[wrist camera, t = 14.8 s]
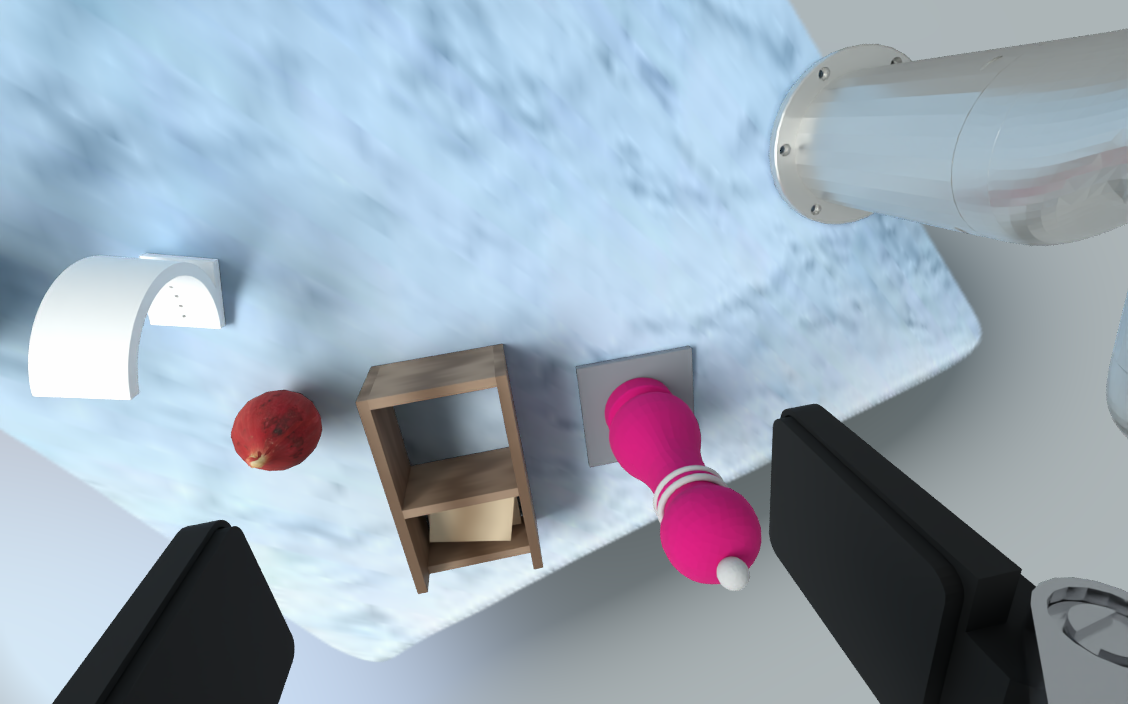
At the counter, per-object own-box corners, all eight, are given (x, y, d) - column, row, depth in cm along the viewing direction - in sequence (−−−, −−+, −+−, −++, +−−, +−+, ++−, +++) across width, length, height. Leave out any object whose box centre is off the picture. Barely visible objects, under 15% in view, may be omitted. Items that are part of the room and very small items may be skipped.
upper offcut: (513, 479, 47) (514, 492, 46) (509, 526, 49) (510, 540, 48) (431, 479, 46) (430, 492, 44) (431, 527, 48) (429, 542, 46)
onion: (284, 359, 42) (244, 408, 34) (347, 402, 44) (321, 458, 36) (239, 409, 43) (190, 468, 35) (302, 449, 45) (269, 512, 37)
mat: (689, 345, 46) (691, 348, 46) (692, 443, 50) (695, 446, 50) (575, 366, 46) (577, 369, 45) (588, 463, 50) (589, 467, 49)
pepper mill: (688, 378, 47) (823, 539, 29) (664, 448, 49) (773, 637, 31) (611, 365, 45) (701, 526, 27) (589, 438, 48) (658, 631, 30)
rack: (502, 343, 44) (506, 374, 38) (536, 520, 51) (543, 567, 46) (370, 366, 43) (355, 402, 37) (424, 543, 50) (418, 594, 45)
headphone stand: (156, 320, 39) (31, 396, 28) (143, 237, 37) (2, 284, 26) (226, 325, 40) (130, 400, 29) (217, 244, 38) (110, 292, 27)
